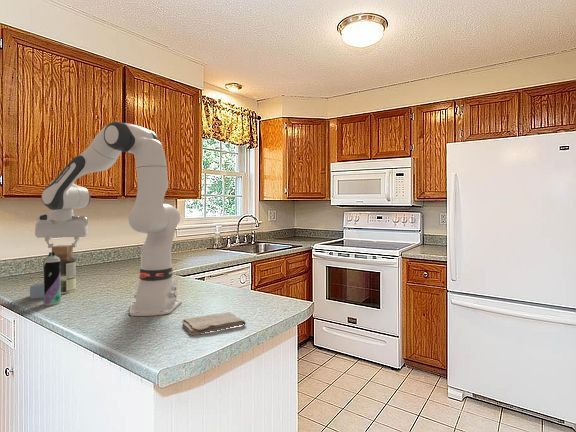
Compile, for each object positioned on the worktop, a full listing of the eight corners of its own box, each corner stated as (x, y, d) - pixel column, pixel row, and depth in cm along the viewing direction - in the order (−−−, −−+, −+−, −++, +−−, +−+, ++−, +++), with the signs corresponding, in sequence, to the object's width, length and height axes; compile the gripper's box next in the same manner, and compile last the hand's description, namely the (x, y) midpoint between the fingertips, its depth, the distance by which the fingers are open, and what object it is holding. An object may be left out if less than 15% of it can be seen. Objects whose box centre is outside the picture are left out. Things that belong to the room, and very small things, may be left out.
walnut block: (67, 260, 158) (66, 246, 157) (51, 260, 156) (51, 246, 156) (72, 258, 163) (72, 245, 163) (58, 258, 162) (57, 245, 162)
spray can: (48, 306, 137) (47, 253, 137) (41, 304, 140) (40, 252, 140) (63, 302, 142) (62, 251, 141) (56, 300, 145) (55, 250, 144)
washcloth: (179, 326, 118) (179, 317, 118) (231, 317, 127) (231, 309, 127) (191, 338, 108) (191, 328, 108) (246, 327, 117) (246, 318, 117)
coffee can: (52, 295, 153) (52, 262, 153) (45, 291, 160) (45, 259, 160) (79, 291, 161) (79, 259, 160) (71, 287, 168) (71, 257, 167)
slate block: (44, 297, 150) (44, 285, 150) (30, 298, 148) (30, 286, 148) (47, 294, 155) (46, 282, 155) (32, 295, 153) (32, 283, 153)
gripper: (90, 215, 164) (90, 246, 165) (40, 216, 161) (40, 247, 161) (84, 216, 158) (85, 247, 158) (32, 216, 154) (33, 249, 155)
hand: (62, 247), depth 160 cm, fingers open, 8 cm apart
